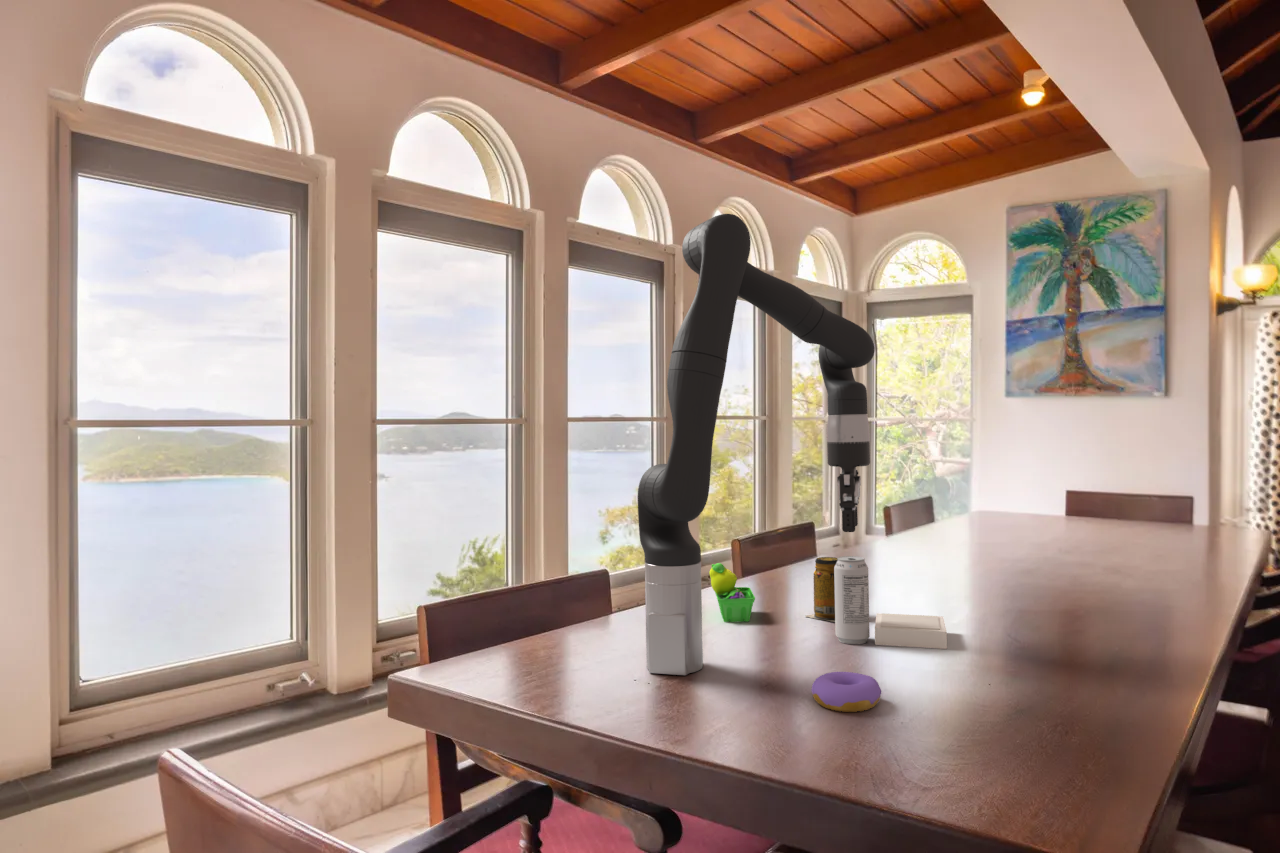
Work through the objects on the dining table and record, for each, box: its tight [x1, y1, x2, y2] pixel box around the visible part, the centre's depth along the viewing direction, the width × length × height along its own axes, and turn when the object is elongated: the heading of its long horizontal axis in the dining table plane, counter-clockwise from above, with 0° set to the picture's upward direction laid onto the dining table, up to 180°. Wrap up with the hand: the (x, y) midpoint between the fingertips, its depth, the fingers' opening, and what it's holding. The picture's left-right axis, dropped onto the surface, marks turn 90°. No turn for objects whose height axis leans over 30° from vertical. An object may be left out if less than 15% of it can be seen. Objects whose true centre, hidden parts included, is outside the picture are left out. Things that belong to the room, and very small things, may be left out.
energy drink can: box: [834, 555, 871, 645], centre depth 151 cm, size 6×6×15 cm
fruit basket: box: [708, 562, 756, 623], centre depth 172 cm, size 11×9×11 cm
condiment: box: [805, 556, 838, 623], centre depth 170 cm, size 7×8×12 cm
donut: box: [811, 671, 882, 713], centre depth 117 cm, size 10×9×5 cm
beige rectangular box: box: [874, 612, 948, 650], centre depth 152 cm, size 12×12×3 cm
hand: (850, 528), depth 151 cm, fingers open, 8 cm apart
